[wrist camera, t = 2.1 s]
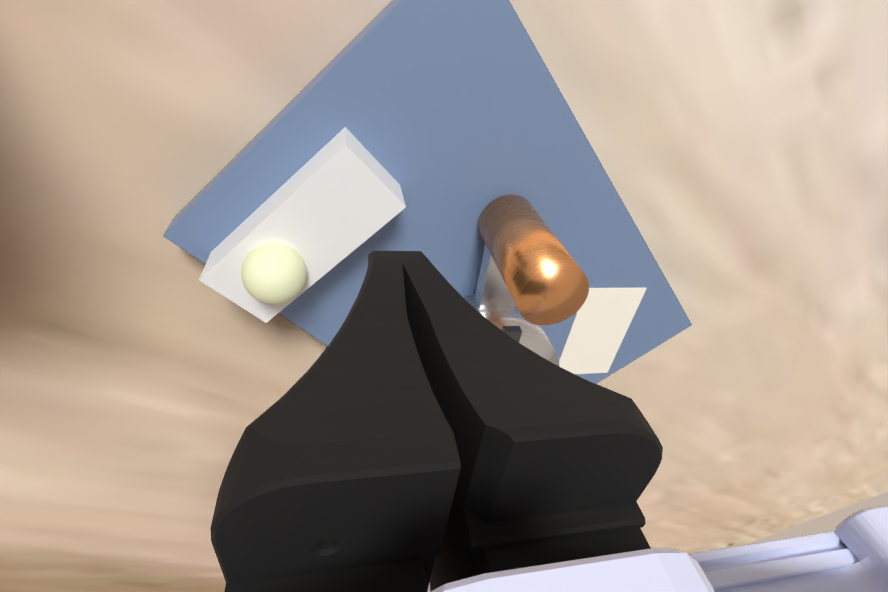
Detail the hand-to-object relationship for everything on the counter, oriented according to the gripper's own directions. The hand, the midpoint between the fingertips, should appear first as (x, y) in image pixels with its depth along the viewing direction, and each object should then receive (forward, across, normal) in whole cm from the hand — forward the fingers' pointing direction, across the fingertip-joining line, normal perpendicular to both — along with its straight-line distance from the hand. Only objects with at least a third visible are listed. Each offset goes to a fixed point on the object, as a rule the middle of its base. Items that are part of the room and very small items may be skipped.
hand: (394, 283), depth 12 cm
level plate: (+5, -4, +3) cm, 7 cm away
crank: (+4, -4, +4) cm, 7 cm away
